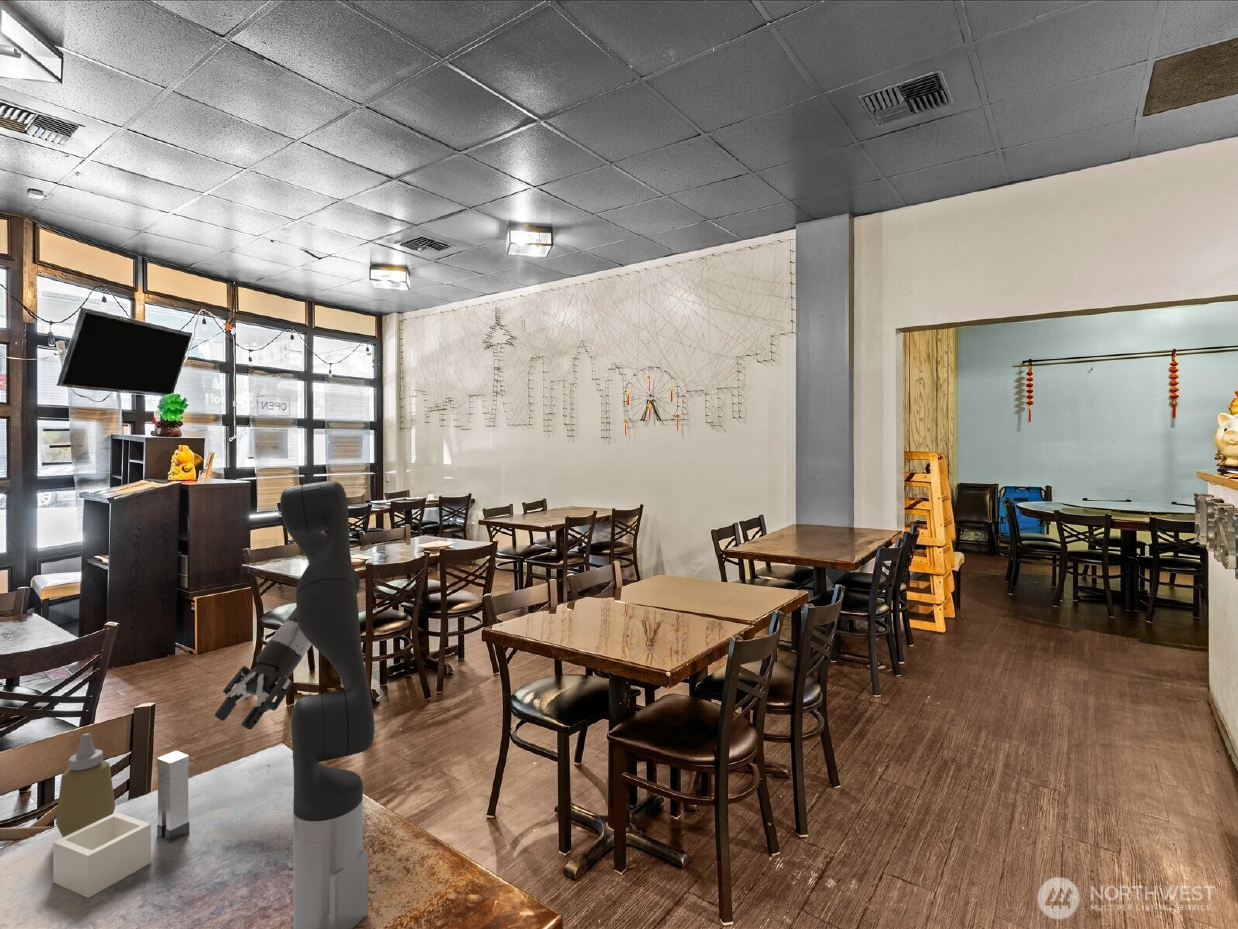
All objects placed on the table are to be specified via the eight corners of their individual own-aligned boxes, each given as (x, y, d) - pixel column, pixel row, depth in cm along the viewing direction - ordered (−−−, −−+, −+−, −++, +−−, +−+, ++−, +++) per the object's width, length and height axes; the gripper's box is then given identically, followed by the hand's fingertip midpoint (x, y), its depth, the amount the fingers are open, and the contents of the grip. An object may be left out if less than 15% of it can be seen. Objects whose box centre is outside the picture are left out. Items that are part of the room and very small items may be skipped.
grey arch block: (189, 833, 112) (189, 755, 112) (169, 842, 110) (169, 763, 109) (176, 827, 114) (176, 750, 114) (157, 836, 111) (156, 758, 111)
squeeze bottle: (115, 817, 117) (114, 721, 117) (115, 837, 111) (115, 736, 111) (57, 833, 112) (56, 733, 112) (54, 855, 106) (54, 749, 106)
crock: (150, 862, 104) (150, 824, 104) (88, 898, 96) (88, 856, 96) (116, 849, 108) (116, 812, 108) (53, 882, 99) (53, 842, 99)
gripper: (253, 634, 132) (195, 707, 122) (297, 643, 125) (241, 722, 115) (276, 652, 137) (223, 724, 127) (321, 662, 130) (268, 739, 120)
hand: (231, 723), depth 121 cm, fingers open, 8 cm apart
